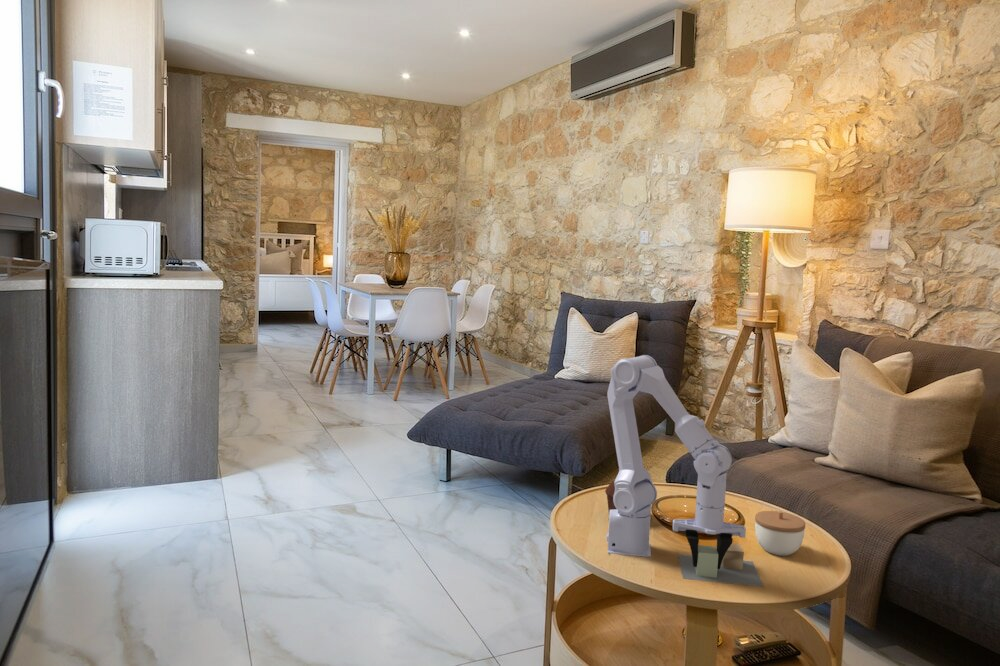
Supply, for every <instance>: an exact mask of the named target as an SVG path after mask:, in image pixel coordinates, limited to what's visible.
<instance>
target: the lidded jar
mask: <svg viewBox="0 0 1000 666" xmlns="http://www.w3.org/2000/svg"><path fill="white" fill-rule="evenodd" d="M805 529H806V522H805V520H804V519H802V518H801V517H799V516H797V515H795V514H792V513H790V512H789V513H788V512H784V511H780V510H779V511H777V510H763V511H758V512H756V513H755V515H754V533H755V538H756V540H757V542H758V545H759V546H761V548H762V549H763V550H764V551H765V552H767V553H769V554H772V555H776V556H780V557H781V556H783V557H784V556H790V555H792V554H794V553H795V552H797V551H798V550H799V548H800V547H801V546H802V543H803V540H804V538H805V537H804V536H805Z"/></svg>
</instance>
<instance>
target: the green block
mask: <svg viewBox="0 0 1000 666" xmlns="http://www.w3.org/2000/svg"><path fill="white" fill-rule="evenodd" d="M717 568H718V552H717V546H712V545H701V544H698V552H697V567H695V570H696V574H697V576H706V577H716V578H717Z"/></svg>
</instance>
